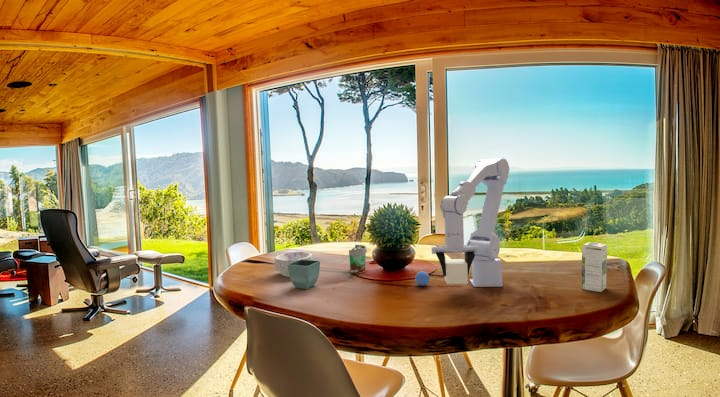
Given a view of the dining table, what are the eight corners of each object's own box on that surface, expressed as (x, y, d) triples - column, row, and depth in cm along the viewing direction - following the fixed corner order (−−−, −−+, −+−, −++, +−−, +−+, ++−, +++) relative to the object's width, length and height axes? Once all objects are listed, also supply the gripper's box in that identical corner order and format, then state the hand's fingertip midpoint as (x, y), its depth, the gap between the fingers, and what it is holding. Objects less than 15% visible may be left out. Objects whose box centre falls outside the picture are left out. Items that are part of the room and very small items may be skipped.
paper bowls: (276, 281, 146) (274, 260, 146) (275, 271, 161) (274, 253, 160) (315, 277, 150) (314, 257, 149) (311, 268, 164) (310, 250, 164)
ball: (429, 283, 134) (428, 269, 134) (430, 287, 129) (429, 273, 129) (415, 283, 135) (414, 269, 135) (415, 287, 130) (415, 273, 130)
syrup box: (586, 285, 125) (586, 241, 124) (607, 288, 120) (607, 243, 120) (581, 289, 121) (581, 244, 120) (602, 292, 116) (602, 246, 116)
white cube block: (464, 278, 124) (463, 258, 123) (467, 283, 117) (467, 263, 117) (444, 278, 124) (443, 259, 124) (446, 284, 118) (446, 264, 118)
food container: (365, 275, 149) (363, 250, 148) (349, 275, 150) (348, 250, 149) (370, 267, 161) (369, 244, 160) (356, 267, 162) (355, 244, 161)
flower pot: (322, 284, 139) (320, 260, 138) (309, 291, 131) (307, 266, 130) (301, 282, 142) (300, 259, 142) (288, 289, 134) (286, 264, 134)
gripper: (432, 235, 117) (433, 279, 118) (480, 234, 115) (481, 278, 116) (430, 232, 124) (431, 273, 125) (475, 231, 122) (476, 272, 123)
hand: (455, 275), depth 121 cm, fingers closed on white cube block, 6 cm apart
